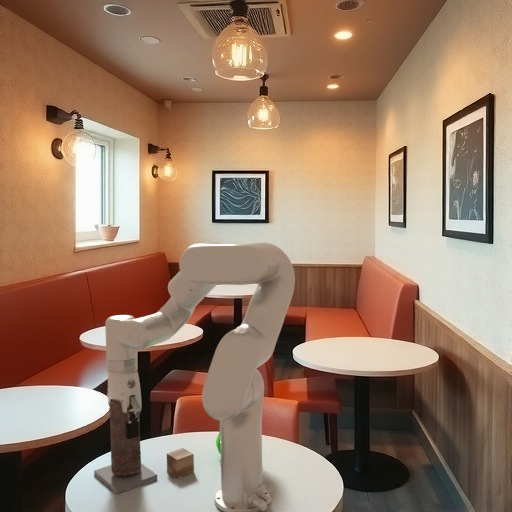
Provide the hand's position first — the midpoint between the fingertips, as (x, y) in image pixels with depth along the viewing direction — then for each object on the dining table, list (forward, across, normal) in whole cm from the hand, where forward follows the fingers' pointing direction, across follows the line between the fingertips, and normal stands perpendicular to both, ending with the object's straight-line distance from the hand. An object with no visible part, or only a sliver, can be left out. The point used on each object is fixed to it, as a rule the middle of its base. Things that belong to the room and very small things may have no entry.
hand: (124, 432), depth 133 cm
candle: (+11, 0, 0) cm, 11 cm away
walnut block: (+12, -7, -12) cm, 18 cm away
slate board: (+12, 0, 0) cm, 12 cm away
